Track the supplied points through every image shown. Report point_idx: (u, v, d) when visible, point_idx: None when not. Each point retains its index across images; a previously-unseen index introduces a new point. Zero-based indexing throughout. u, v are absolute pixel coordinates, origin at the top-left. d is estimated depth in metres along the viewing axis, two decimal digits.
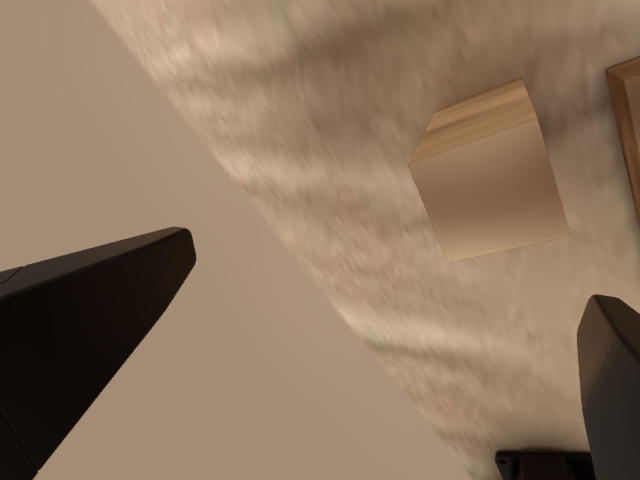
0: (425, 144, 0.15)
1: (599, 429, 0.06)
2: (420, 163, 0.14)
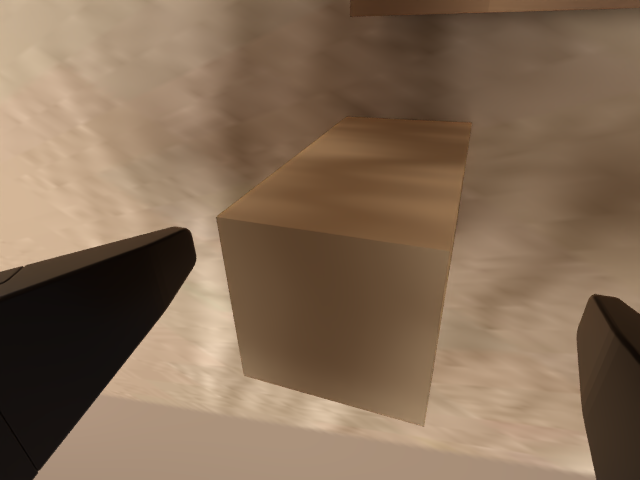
0: None
1: (599, 429, 0.06)
2: (245, 363, 0.09)
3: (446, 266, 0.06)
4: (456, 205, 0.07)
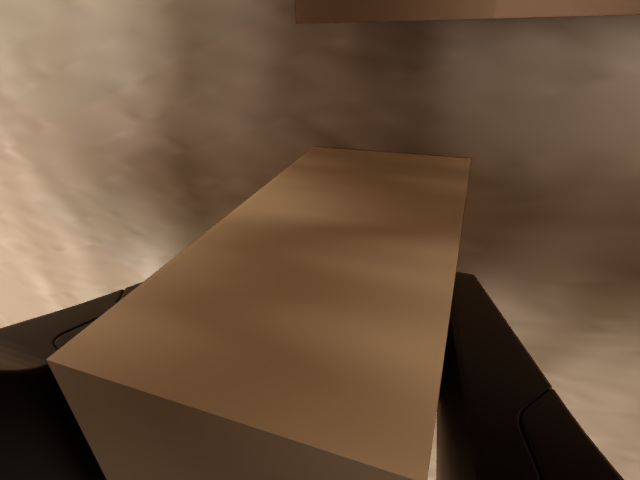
0: None
1: (440, 389, 0.07)
2: None
3: None
4: (444, 337, 0.04)
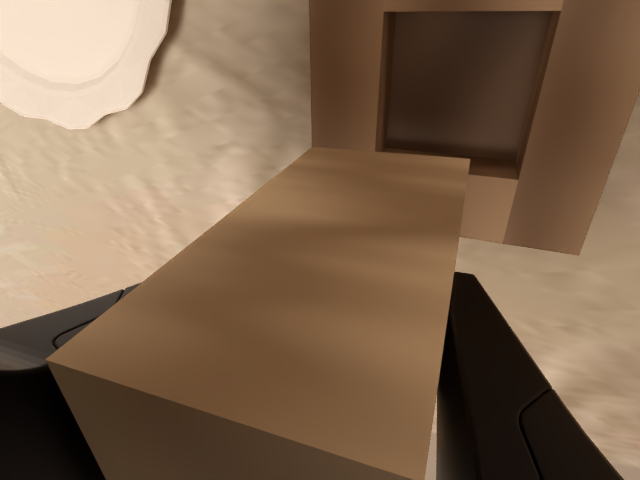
0: None
1: (440, 389, 0.07)
2: None
3: None
4: (443, 337, 0.04)
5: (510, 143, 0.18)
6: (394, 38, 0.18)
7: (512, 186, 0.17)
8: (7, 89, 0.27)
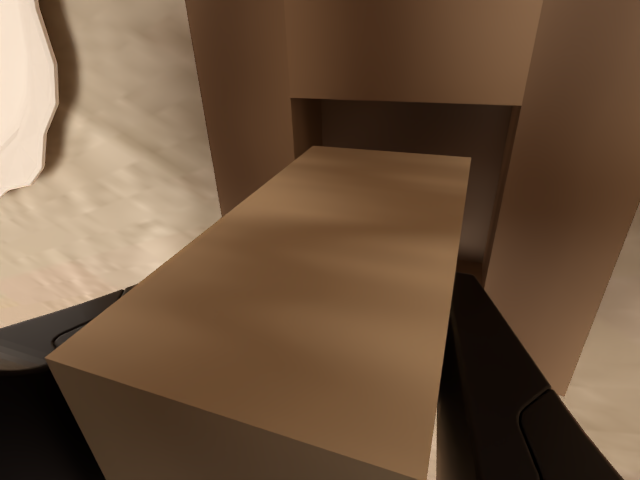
0: None
1: (440, 389, 0.07)
2: None
3: None
4: (444, 335, 0.04)
5: (474, 243, 0.14)
6: (321, 116, 0.14)
7: None
8: None
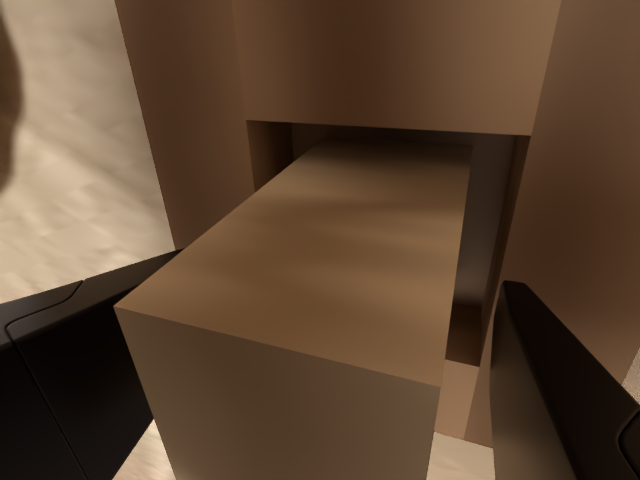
0: None
1: (496, 403, 0.07)
2: (179, 474, 0.07)
3: (436, 404, 0.04)
4: (452, 287, 0.05)
5: (472, 286, 0.12)
6: (292, 137, 0.12)
7: (471, 374, 0.11)
8: None
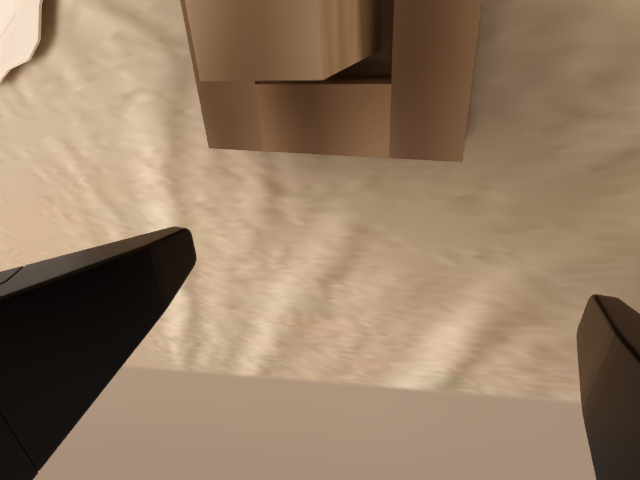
0: None
1: (599, 429, 0.06)
2: (200, 66, 0.12)
3: None
4: None
5: None
6: None
7: (387, 92, 0.16)
8: None
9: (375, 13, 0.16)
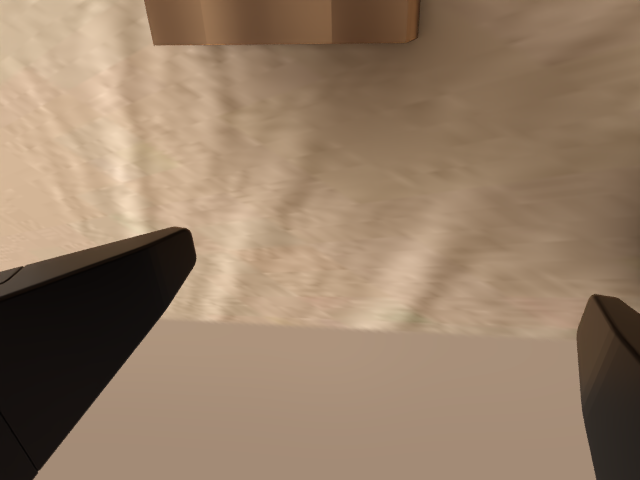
0: None
1: (599, 429, 0.06)
2: None
3: None
4: None
5: None
6: None
7: None
8: None
9: None
